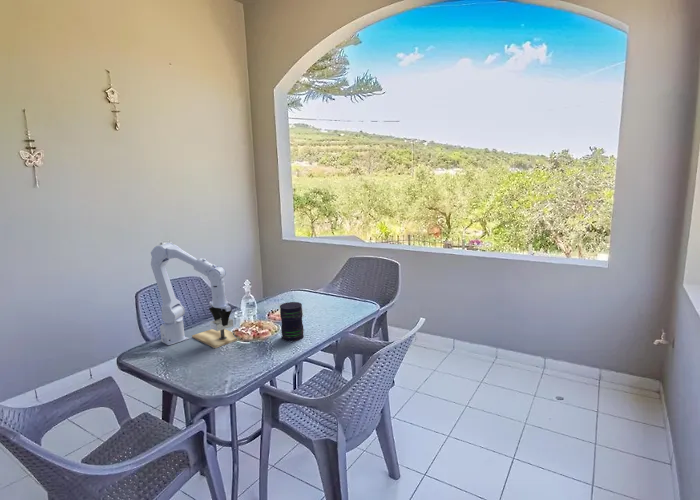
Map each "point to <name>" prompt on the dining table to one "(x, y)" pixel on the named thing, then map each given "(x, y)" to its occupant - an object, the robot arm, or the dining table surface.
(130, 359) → the dining table surface
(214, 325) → the grey tin box
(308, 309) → the dining table surface
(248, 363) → the dining table surface
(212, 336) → the board
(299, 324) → the storage jar
